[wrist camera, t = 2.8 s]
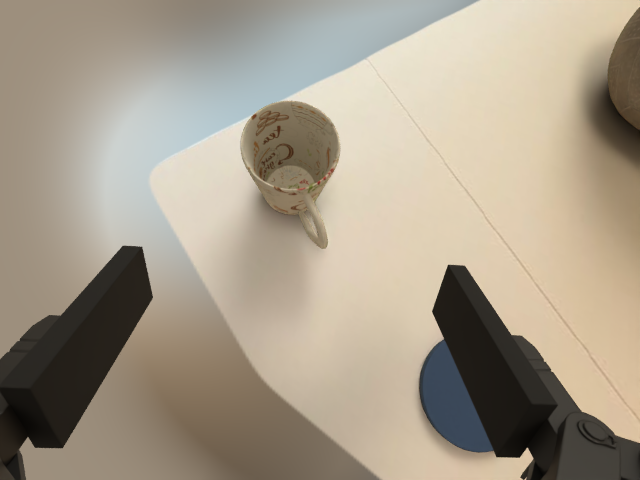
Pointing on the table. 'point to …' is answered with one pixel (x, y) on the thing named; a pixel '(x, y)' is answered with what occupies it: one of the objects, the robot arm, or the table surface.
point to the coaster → (450, 402)
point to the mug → (292, 159)
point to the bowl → (626, 72)
